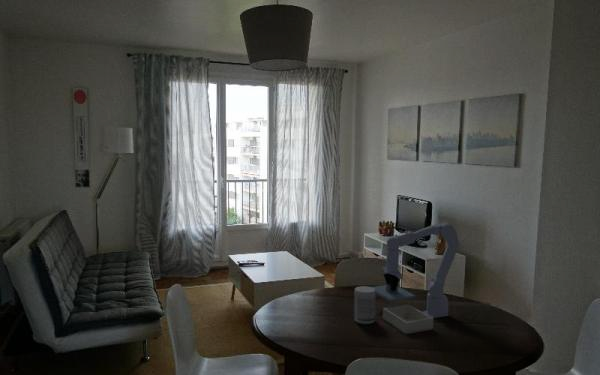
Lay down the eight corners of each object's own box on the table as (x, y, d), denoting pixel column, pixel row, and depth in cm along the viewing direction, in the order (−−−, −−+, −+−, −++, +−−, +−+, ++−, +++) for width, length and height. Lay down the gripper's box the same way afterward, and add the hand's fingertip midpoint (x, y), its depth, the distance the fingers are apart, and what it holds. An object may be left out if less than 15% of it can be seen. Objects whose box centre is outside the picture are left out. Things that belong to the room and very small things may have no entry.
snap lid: (393, 288, 228) (393, 277, 227) (415, 299, 211) (415, 288, 211) (369, 291, 222) (369, 280, 222) (389, 303, 206) (390, 291, 205)
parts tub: (408, 314, 212) (408, 304, 212) (432, 329, 196) (433, 318, 195) (382, 318, 207) (383, 308, 207) (405, 334, 191) (406, 322, 190)
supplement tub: (379, 322, 203) (380, 290, 202) (363, 326, 198) (364, 294, 197) (365, 315, 211) (365, 284, 210) (349, 319, 206) (350, 288, 205)
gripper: (377, 258, 220) (376, 286, 222) (394, 266, 207) (393, 295, 208) (389, 257, 223) (388, 284, 224) (407, 265, 210) (405, 293, 211)
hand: (391, 289), depth 216 cm, fingers closed on snap lid, 2 cm apart
